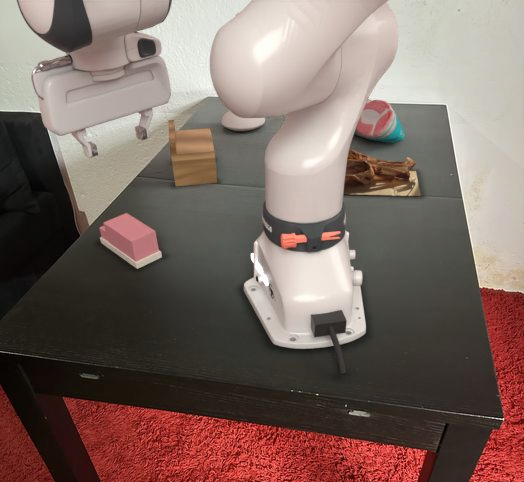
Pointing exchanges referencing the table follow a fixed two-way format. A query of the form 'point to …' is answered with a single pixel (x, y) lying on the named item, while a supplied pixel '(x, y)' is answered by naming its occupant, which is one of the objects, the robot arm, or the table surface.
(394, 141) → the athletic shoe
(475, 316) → the table surface
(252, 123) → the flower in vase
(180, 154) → the brown boxy piece
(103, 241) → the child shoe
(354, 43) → the robot arm
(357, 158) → the driftwood on gold plate
